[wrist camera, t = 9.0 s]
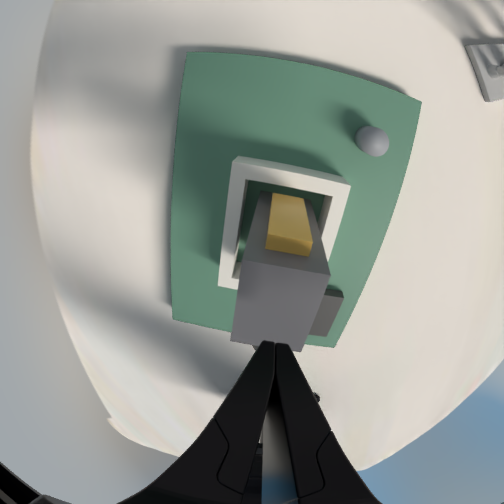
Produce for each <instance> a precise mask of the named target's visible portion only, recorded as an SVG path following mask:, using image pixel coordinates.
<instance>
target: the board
mask: <svg viewBox="0 0 504 504" xmlns="http://www.w3.org/2000/svg"><path fill="white" fill-rule="evenodd" d="M421 104H422V102H421V101H419V100H416V99H414V98H412V97H410V96H407V95H405V94H402V93H400V92H398V91H395V90H392V89H390V88H387V87H385V86H382V85H379V84H376V83H373V82H371V81H368V80H365V79H361V78H358V77H355V76H352V75H348V74H345V73H341V72H338V71H334V70H330V69H326V68H322V67H318V66H314V65H309V64H304V63H299V62H294V61H289V60H283V59H277V58H270V57H263V56H254V55H245V54H233V53H217V52H187V56H186V62H185V68H184V74H183V81H182V88H181V95H180V103H179V111H178V120H177V130H176V140H175V152H174V165H173V181H172V203H171V296H172V317H173V319H174V320H178V321H182V322H186V323H191V324H195V325H199V326H204V327H209V328H213V329H218V330H223V331H228V332H232V325H233V318H234V311H235V304H236V297H237V290H238V284H239V277H240V270H241V263H242V258H243V254H244V250H245V247H246V243H247V239H248V235H249V232H250V228H251V224H252V221H253V217H254V213H255V210H256V206H257V202H258V198H259V195H260V191H267V192H272V193H278V194H283V195H289V196H294V197H299V198H304V199H309V200H311V204H312V207H313V210H314V214H315V217H316V221H317V224H318V228H319V231H320V235H321V239H322V242H323V246H324V250H325V254H326V258H327V262H328V266H329V270H330V274H331V276H330V279H329V282H328V285H327V288H326V290H325V293H324V296H323V298H322V301H321V304H320V306H319V309H318V311H317V314H316V317H315V319H314V322H313V324H312V327H311V329H310V332H309V334H308V336H307V339H306V341H305V344H307V345H315V346H323V347H332V348H334V347H335V345H336V343H337V341H338V340H339V338H340V336H341V334H342V332H343V330H344V328H345V326H346V324H347V322H348V320H349V318H350V316H351V314H352V312H353V310H354V308H355V306H356V303H357V301H358V299H359V297H360V295H361V293H362V290H363V288H364V286H365V284H366V281H367V279H368V277H369V274H370V272H371V270H372V267H373V265H374V262H375V260H376V257H377V255H378V252H379V250H380V247H381V245H382V242H383V240H384V237H385V234H386V231H387V229H388V226H389V223H390V220H391V217H392V214H393V212H394V209H395V206H396V202H397V199H398V196H399V193H400V190H401V186H402V183H403V180H404V176H405V173H406V169H407V166H408V162H409V158H410V154H411V150H412V146H413V142H414V138H415V133H416V129H417V124H418V119H419V114H420V109H421Z"/></svg>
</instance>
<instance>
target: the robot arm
mask: <svg viewBox="0 0 504 504" xmlns="http://www.w3.org/2000/svg"><path fill="white" fill-rule="evenodd" d="M319 401H320V397H319V396H317V395H314V394H313V392H312V390H311V388H310V386H309V384H308V382H307V380H306V378H305V376H304V374H303V372H302V370H301V368H300V366H299V364H298V362H297V360H296V358H295V356H294V354H293V352H292V350H291V348H290V346H289V345H288V344H286V343H280V342H277V343H275V342H273V341H267V340H263V341H262V342H261V343H260V345H259V347H258V348H257V350H256V352H255V353H254V355H253V356H252V358H251V360H250V361H249V363H248V364H247V366H246V368H245V369H244V371H243V372H242V374H241V375H240V377H239V378H238V380H237V382H236V383H235V385H234V386H233V388H232V389H231V391H230V392H229V394H228V395H227V397H226V398H225V400H224V401H223V403H222V404H221V406H220V407H219V409H218V410H217V412H216V413H215V415H214V416H213V418H212V419H211V420H210V422H209V423H208V425H207V426H206V427H205V429H204V430H203V431H202V433H201V434H200V435H199V437H198V438H197V439H196V440H195V441H194V443H193V444H192V445H191V446H190V447H189V448H188V449H187V450H186V451H185V452H184V453H183V454H182V455H181V456H180V457H179V458H178V459H177V460H176V461H175V462H174V463H173V464H172V465H171V466H170V467H169V468H168V469H167V470H166V471H165V472H164V473H162V474H161V475H160V476H159V477H158V478H157V479H156V480H154V481H153V482H152V483H151V484H149V485H148V486H147V487H145V488H144V489H142V490H141V491H139V492H138V493H136V494H134V495H133V496H130V497H129V498H127V499H125V500H123V501H121V502H119V503H117V504H382V503H381V502H380V501H378V500H377V499H376V497H375V496H374V495H373V494H372V493H371V491H370V490H369V489H368V487H367V486H366V484H365V483H364V482H363V480H362V479H361V478H360V476H359V474H358V473H357V472H356V470H355V469H354V467H353V466H352V464H351V463H350V461H349V460H348V458H347V457H346V455H345V454H344V452H343V450H342V448H341V447H340V445H339V443H338V441H337V439H336V437H335V435H334V433H333V431H331V427H330V426H329V424H328V422H327V420H326V418H325V416H324V414H323V412H322V410H321V408H320V406H319V404H318V402H319ZM259 439H260V443H259ZM0 504H71V503H68V502H65V501H62V500H59V499H56V498H54V497H51V496H48V495H42V494H40V493H39V492H37V491H36V490H35V489H33V488H32V487H30V486H29V485H28V484H26V483H25V482H24V481H23V480H21V479H20V478H19V477H18V476H16V475H15V474H14V473H13V472H12V471H10V470H9V469H8V468H7V467H6V466H5V465H3V464H2V463H1V462H0ZM501 504H504V502H503V503H501Z"/></svg>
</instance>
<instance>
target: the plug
mask: <svg viewBox="0 0 504 504" xmlns="http://www.w3.org/2000/svg"><path fill="white" fill-rule="evenodd" d="M330 276H331V274H330V270H329V266H328V262H327V258H326V254H325V250H324V246H323V242H322V239H321V235H320V231H319V228H318V224H317V221H316V217H315V214H314V210H313V207H312V204H311V200H309V199H304V198H299V197H294V196H289V195H283V194H278V193H272V192H267V191H260V195H259V198H258V202H257V206H256V210H255V213H254V217H253V221H252V224H251V228H250V232H249V235H248V239H247V243H246V247H245V250H244V254H243V258H242V263H241V270H240V277H239V284H238V290H237V297H236V304H235V311H234V318H233V325H232V333H231V340H230V341H233V342H239V343H244V344H250V345H252V346H253V348H254V349H255V350H257V348H258V347H259V345H260V343H261V342H262V341H263V340H267V341H273V342H275V343H277V342H280V343H286V344H288V345H289V346H290V348H291V350H292V351H297V352H301V351H302V348H303V346H304V344H305V341H306V339H307V336H308V334H309V332H310V329H311V327H312V324H313V322H314V319H315V317H316V314H317V311H318V309H319V306H320V304H321V301H322V298H323V296H324V293H325V290H326V288H327V285H328V282H329V279H330Z"/></svg>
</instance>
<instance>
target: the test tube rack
mask: <svg viewBox="0 0 504 504" xmlns="http://www.w3.org/2000/svg"><path fill="white" fill-rule="evenodd" d="M465 48H466V51H467V53H468V55H469V58H470V60H471V63H472V65H473V68H474V70H475V73H476V76H477V78H478V81H479V84H480V87H481V90H482V94H483V97H484V100H485V102H493V101H497V100H501V99H504V44H476V45H468V46H465Z"/></svg>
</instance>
